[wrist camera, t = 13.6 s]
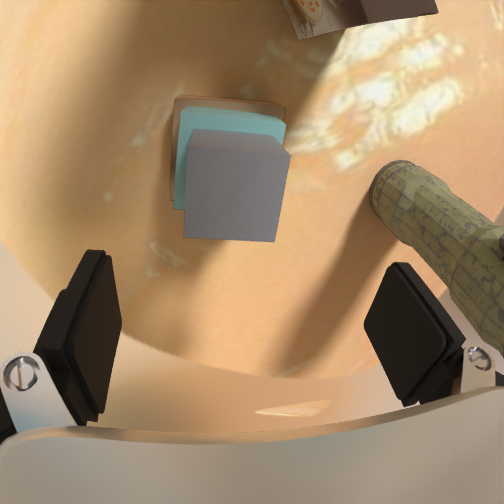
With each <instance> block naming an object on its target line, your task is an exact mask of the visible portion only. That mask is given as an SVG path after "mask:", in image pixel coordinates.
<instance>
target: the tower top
mask: <svg viewBox="0 0 504 504" xmlns="http://www.w3.org/2000/svg"><path fill="white" fill-rule="evenodd" d="M285 128H286V124H285V123H284V122H283V121H281V120H280V119H278V118H277V117H276V116H274V115H267V114H260V113H253V112H245V111H237V110H228V109H219V108H208V107H196V106H186V107H185V108H184V109H183V110H182V112H181V116H180V126H179V136H178V148H177V160H176V174H175V190H174V209H181V210H185V190H186V172H187V156H188V145H189V142H190V139H191V136H192V133H193V129H209V130H223V131H235V132H245V133H255V134H264V135H272V136H273V137H274V138H275V139H276V140H277V141H278V142H279V143H280V144H281V145H282V144H283V139H284V134H285Z"/></svg>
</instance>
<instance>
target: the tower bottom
mask: <svg viewBox="0 0 504 504" xmlns="http://www.w3.org/2000/svg"><path fill="white" fill-rule="evenodd" d="M186 106H196V107H208V108H219V109H228V110H237V111H245V112H253V113H260V114H267V115H274V116H276V117H277V118H278V119H280V120H281V121H283V120H284V114H285V108H283V107H281V106H279V105H277V104H275V103H267V102H259V101H251V100H241V99H230V98H218V97H203V96H178V97H177V98H175V102H174V115H173V130H172V148H171V171H170V201H174V190H175V174H176V160H177V148H178V136H179V126H180V116H181V112H182V110H183V109H184V108H185V107H186Z"/></svg>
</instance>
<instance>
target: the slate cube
mask: <svg viewBox="0 0 504 504" xmlns="http://www.w3.org/2000/svg"><path fill="white" fill-rule="evenodd" d="M290 156H291V155H290V154H289V153H288V152H287V151H286V150H285V149H284V147H283V146H282V145H281V144H280V143H279V142H278V141H277V140H276V139H275V138H274V137H273V136H272V135H264V134H255V133H245V132H235V131H223V130H209V129H193V133H192V136H191V139H190V142H189V145H188V156H187V172H186V190H185V213H184V238H202V239H222V240H241V241H260V242H275V238H276V232H277V227H278V222H279V216H280V211H281V206H282V200H283V195H284V189H285V184H286V178H287V173H288V167H289V162H290Z"/></svg>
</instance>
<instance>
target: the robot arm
mask: <svg viewBox="0 0 504 504" xmlns="http://www.w3.org/2000/svg"><path fill="white" fill-rule="evenodd" d="M121 327H122V318H121V313H120V308H119V302H118V296H117V291H116V285H115V278H114V272H113V265H112V258H111V256H110V255H106V252H105V251H104V250H87V251H86V252H85V254H84V256H83V258H82V260H81V261H80V263H79V265H78V267H77V269H76V271H75V273H74V275H73V277H72V279H71V281H70V283H69V285H68V287H67V289H63V290H61V292H60V293H59V295H58V297H57V299H56V301H55V303H54V306H53V308H52V310H51V312H50V314H49V316H48V318H47V320H46V323H45V325H44V327H43V330H42V332H41V334H40V337H39V338H38V341H37V343H36V346H35V348H34V351H33V353H31V352H19V353H15V354H13V355H11V356H10V357H8V358H7V359H6V360H5V361H4V362H3V364H2V366H1V368H0V504H504V375H502V374H500V373H499V372H497V371H495V362H494V359H493V357H492V356H491V354H490V353H489V351H487V350H486V349H485V348H484V347H482V346H481V345H478V344H473V343H471V344H468V345H467V346H466V347H465V348H464V349H463V348H462V347H461V346H462V344H463V343H464V341H465V340H466V338H465V337H464V335H463V334H462V332H461V331H460V330H459V328H458V327H457V325H456V324H455V323H454V322H453V320H452V318H451V317H450V316H449V314H448V313H447V312H446V310H445V309H444V308H443V306H442V305H441V303H440V302H439V301H438V299H437V298H436V297H435V296H434V294H433V293H432V292H431V290H430V289H429V288H428V286H427V285H426V284H425V283H424V281H423V280H422V279H421V278H420V276H419V275H418V274H417V273H416V271H415V270H414V269H413V268H412V266H411V265H410V264H409V263H405V262H394V263H392V264H391V266H389V267H388V268H387V270H386V272H385V275H384V277H383V279H382V282H381V284H380V287H379V289H378V291H377V293H376V296H375V298H374V300H373V303H372V305H371V307H370V309H369V311H368V314H367V316H366V318H365V320H364V329H365V331H366V333H367V335H368V338H369V340H370V342H371V344H372V346H373V348H374V350H375V352H376V354H377V356H378V358H379V360H380V362H381V364H382V366H383V369H384V371H385V373H386V375H387V377H388V379H389V381H390V384H391V386H392V388H393V390H394V392H395V394H396V397H397V398H398V399H399V400H401V402H402V404H403V406H404V407H406V406H410V405H414V404H416V403H417V402H418V400H419V402H420V405H418V406H414V407H410V408H406V409H403V410H398V411H394V412H390V413H385V414H381V415H376V416H371V417H366V418H362V419H357V420H351V421H345V422H339V423H333V424H326V425H319V426H311V427H304V428H295V429H285V430H273V431H259V432H240V433H175V432H152V431H138V430H126V429H115V428H102V427H91V426H86V424H87V421H93V422H97V420H98V415H99V413H101V414H103V413H104V410H105V404H106V399H107V393H108V388H109V383H110V377H111V372H112V368H113V363H114V357H115V354H116V349H117V345H118V340H119V336H120V332H121Z"/></svg>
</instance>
